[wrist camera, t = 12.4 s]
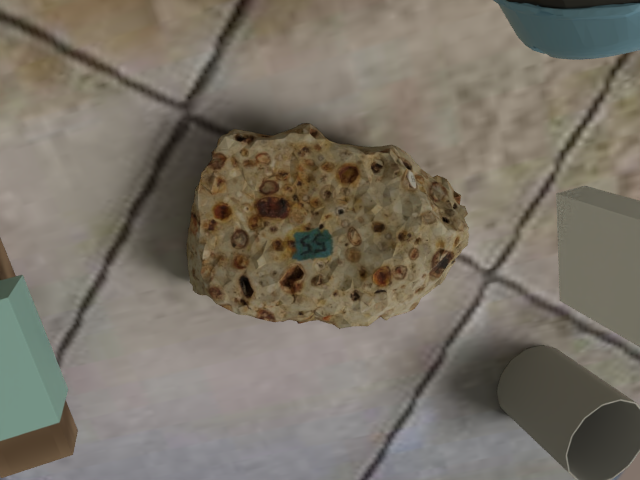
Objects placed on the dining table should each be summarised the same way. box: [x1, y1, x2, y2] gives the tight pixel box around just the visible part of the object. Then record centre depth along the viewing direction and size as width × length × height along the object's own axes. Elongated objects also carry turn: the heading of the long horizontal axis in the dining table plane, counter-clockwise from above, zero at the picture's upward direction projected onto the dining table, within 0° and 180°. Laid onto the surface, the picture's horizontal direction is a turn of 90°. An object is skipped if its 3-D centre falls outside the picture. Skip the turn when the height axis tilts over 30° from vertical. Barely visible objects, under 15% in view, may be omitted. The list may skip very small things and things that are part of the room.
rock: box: [186, 123, 469, 329], centre depth 42 cm, size 21×14×10 cm
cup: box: [497, 345, 640, 480], centre depth 52 cm, size 8×8×10 cm
